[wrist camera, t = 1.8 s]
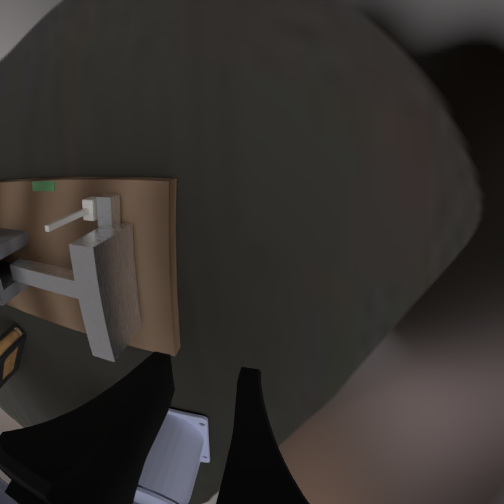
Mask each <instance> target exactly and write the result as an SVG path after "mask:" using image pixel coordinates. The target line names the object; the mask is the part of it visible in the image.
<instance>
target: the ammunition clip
mask: <svg viewBox="0 0 504 504" xmlns="http://www.w3.org/2000/svg"><path fill="white" fill-rule="evenodd" d="M25 338H26V334H25V333H24V332H23V330H22V329H21V328H20V327H19V326H18V325H17V324H16V323H15V324H14V325H13V326H12V327H11V328H10V329H8V330H7V331H6V332H5V333H4V334H3V335H2V336H1V337H0V388H1V387H2V386H3V385H4V384H5V382H6V381H7V380H8V379H9V378H10V377H11V376H12V375H13V374H14V373H15V372H16V371H17V370H18V366H19V362H20V358H21V353H22V350H23V346H24V342H25Z"/></svg>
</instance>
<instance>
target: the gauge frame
mask: <svg viewBox="0 0 504 504" xmlns="http://www.w3.org/2000/svg"><path fill="white" fill-rule="evenodd" d="M176 187H177V179H176V178H151V177H54V178H31V179H15V180H1V181H0V305H1V306H3V305H4V304H7V305H9V306H12V307H14V308H16V309H19V310H21V311H24V312H26V313H29V314H31V315H34V316H37V317H39V318H42V319H45V320H47V321H50V322H53V323H56V324H59V325H62V326H65V327H67V328H70V329H74V330H77V331H80V332H83V333H86V329H85V325H84V321H83V317H82V313H81V309H80V304H79V300H78V299H77V298H73V297H69V296H65V295H62V294H58V293H55V292H51V291H47V290H44V289H41V288H37V287H34V286H31V285H27V284H24V283H21V282H18V281H15V280H13V277H12V273H11V269H10V264H12V263H13V262H15V261H17V260H18V259H24V260H29V261H33V262H37V263H42V264H46V265H51V266H56V267H60V268H65V269H70V270H73V268H72V262H71V256H70V249H69V244H70V243H72V242H74V241H75V240H77V239H79V238H81V237H83V236H84V235H86V234H88V233H90V232H92V231H94V230H95V229H97V228H99V226H98V219H97V220H95V221H88V220H83V216H82V217H80V218H78V219H76V220H73V221H71V222H69V223H67V224H65V225H63V226H61V227H59V228H56V229H54V230H52V231H50V232H45V225H47V224H49V223H51V222H54V221H56V220H58V219H60V218H63V217H65V216H67V215H70V214H72V213H74V212H77V211H79V210H81V209H83V207H82V200H83V199H86V198H89V197H98V196H101V195H104V194H120V220H121V223H127V224H132V232H133V249H134V262H135V274H136V284H137V293H138V302H139V310H140V317H141V324H142V325H141V327H140V328H139V329H138V331H137V332H136V333H135V335H134V336H133V338H132V339H131V340H130V342H129V343H128V346H132V347H136V348H140V349H144V350H149V351H153V352H155V351H156V352H161V353H165V354H170V355H171V356H176V355H177V353H178V351H179V349H180V347H181V345H180V332H179V316H178V296H177V268H176ZM86 334H87V333H86Z"/></svg>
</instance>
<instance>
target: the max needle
mask: <svg viewBox="0 0 504 504" xmlns="http://www.w3.org/2000/svg"><path fill="white" fill-rule="evenodd" d="M82 207H83V209H81V210H79V211H77V212H74V213H72V214H70V215H67V216H65V217H63V218H60V219H58V220H56V221H54V222H51V223H49V224H47V225H45V232H50V231H52V230H54V229H56V228H59V227H61V226H63V225H65V224H67V223H69V222H71V221H73V220H76V219H78V218H80V217H82V216H83V220H88V221H95V220H97V202H96V197H89V198H86V199H83V200H82Z"/></svg>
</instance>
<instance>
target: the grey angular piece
mask: <svg viewBox="0 0 504 504" xmlns="http://www.w3.org/2000/svg"><path fill="white" fill-rule="evenodd" d="M96 202H97V219H98V226H99V228H97V229H95V230H94V231H92V232H90V233H88V234H86V235H84V236H83V237H81V238H79V239H77V240H75V241H74V242H72V243H70V244H69V249H70V256H71V262H72V268H73V270H70V269H65V268H60V267H56V266H51V265H46V264H42V263H37V262H33V261H29V260H24V259H18V260H17V261H15V262H13V263H12V264H10V269H11V273H12V277H13V280H15V281H18V282H21V283H24V284H27V285H31V286H34V287H37V288H41V289H44V290H47V291H51V292H55V293H58V294H62V295H65V296H69V297H73V298H77V299H78V300H79V304H80V309H81V313H82V317H83V321H84V325H85V329H86V333H87V336H88V340H89V343H90V347H91V350H92V354H93V356H97V357H100V358H103V359H106V360H109V361H112V362H115V361H116V360H117V359H118V357H119V356H120V354H121V353H122V352H123V350H124V349H125V347H126V346H127V345H128V343H129V342H130V340H131V339H132V338H133V336H134V335H135V333H136V332H137V331H138V329H139V328H140V327H141V325H142V324H141V317H140V310H139V302H138V293H137V284H136V274H135V262H134V249H133V232H132V224H127V223H121V220H120V194H104V195H101V196H98V197H96Z"/></svg>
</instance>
